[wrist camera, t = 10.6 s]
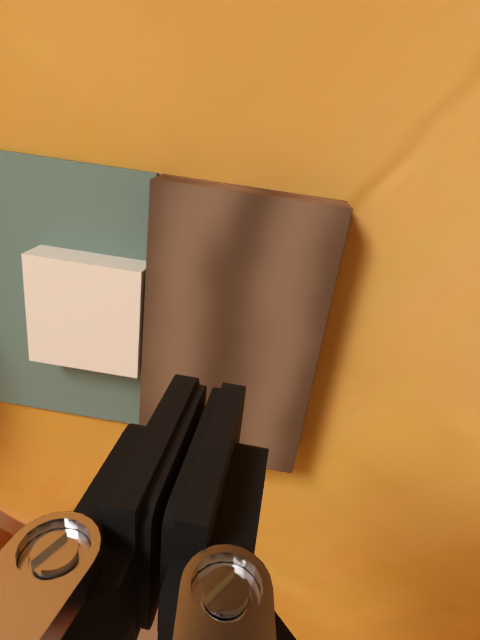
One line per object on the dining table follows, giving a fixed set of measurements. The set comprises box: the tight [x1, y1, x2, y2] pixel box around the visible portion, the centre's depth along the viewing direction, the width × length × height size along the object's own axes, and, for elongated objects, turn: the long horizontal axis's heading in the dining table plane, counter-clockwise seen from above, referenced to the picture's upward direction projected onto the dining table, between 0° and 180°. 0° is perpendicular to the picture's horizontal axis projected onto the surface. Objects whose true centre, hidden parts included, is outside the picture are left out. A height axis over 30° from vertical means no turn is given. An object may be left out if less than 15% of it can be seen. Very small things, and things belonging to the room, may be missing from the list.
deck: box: [139, 174, 353, 473], centre depth 31 cm, size 12×20×3 cm, turn 173°
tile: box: [21, 245, 146, 378], centre depth 32 cm, size 8×8×2 cm
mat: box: [0, 150, 159, 424], centre depth 33 cm, size 13×20×1 cm, turn 172°
